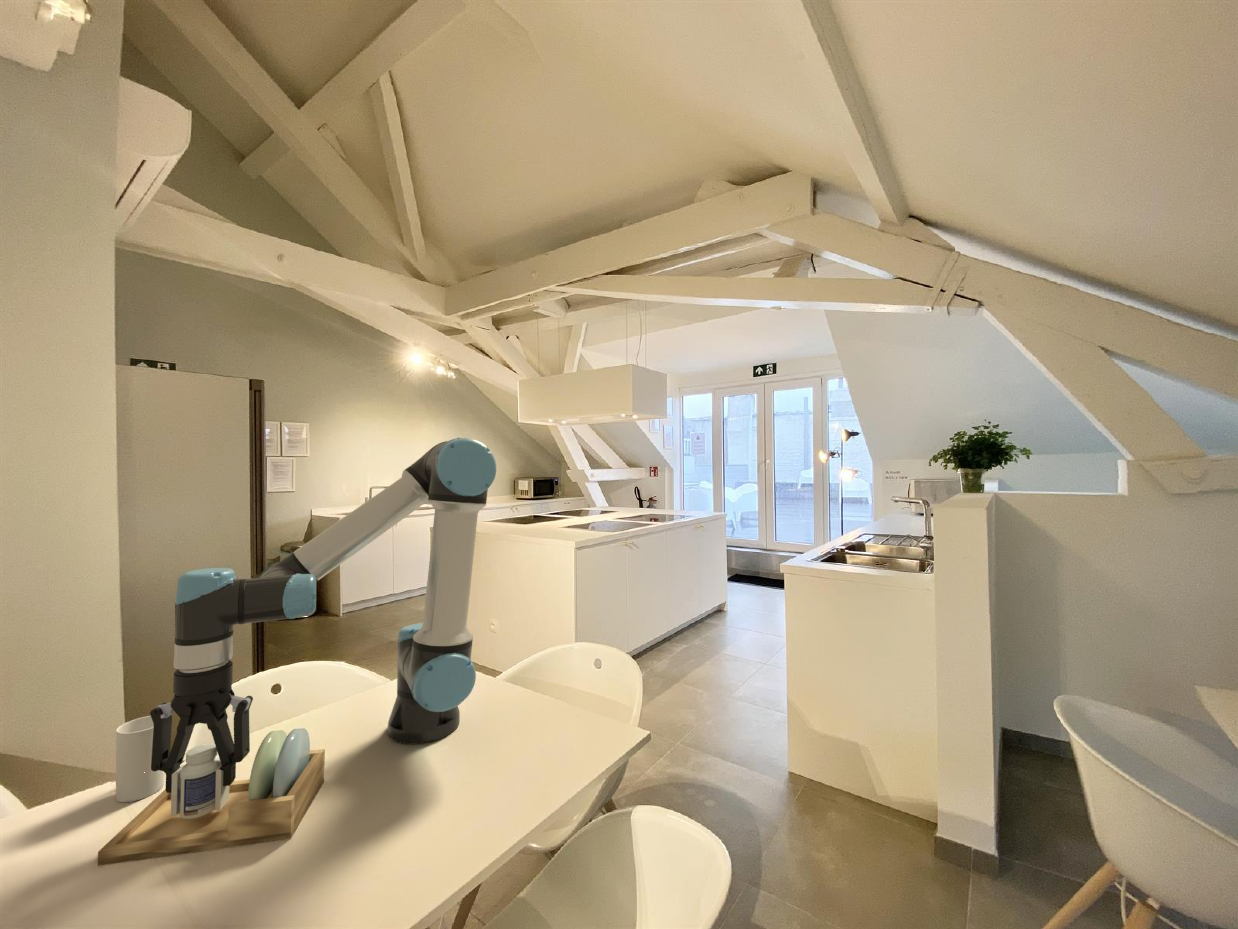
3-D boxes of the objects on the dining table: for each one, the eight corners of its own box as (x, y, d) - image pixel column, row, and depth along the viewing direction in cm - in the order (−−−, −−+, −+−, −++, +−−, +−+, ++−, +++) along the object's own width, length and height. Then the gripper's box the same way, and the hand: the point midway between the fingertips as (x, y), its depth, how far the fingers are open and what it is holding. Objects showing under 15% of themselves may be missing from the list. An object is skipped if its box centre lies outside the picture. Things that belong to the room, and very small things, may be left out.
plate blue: (309, 782, 91) (310, 715, 91) (280, 827, 80) (282, 751, 80) (301, 783, 91) (303, 716, 91) (272, 829, 79) (273, 751, 80)
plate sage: (288, 785, 90) (289, 717, 91) (256, 831, 79) (257, 753, 79) (280, 786, 90) (282, 718, 90) (247, 832, 78) (249, 754, 79)
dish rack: (324, 781, 93) (324, 749, 93) (290, 838, 78) (291, 800, 79) (165, 800, 87) (166, 765, 88) (97, 865, 73) (98, 823, 73)
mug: (151, 800, 88) (153, 730, 88) (103, 807, 86) (105, 735, 86) (183, 768, 97) (185, 705, 98) (141, 773, 95) (143, 709, 96)
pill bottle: (229, 803, 84) (230, 743, 84) (193, 824, 79) (194, 761, 79) (207, 796, 86) (208, 738, 86) (170, 816, 81) (172, 754, 81)
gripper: (277, 652, 89) (274, 786, 88) (153, 660, 84) (149, 801, 84) (256, 668, 81) (253, 814, 81) (120, 678, 77) (116, 832, 77)
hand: (200, 807), depth 82 cm, fingers closed on pill bottle, 5 cm apart
